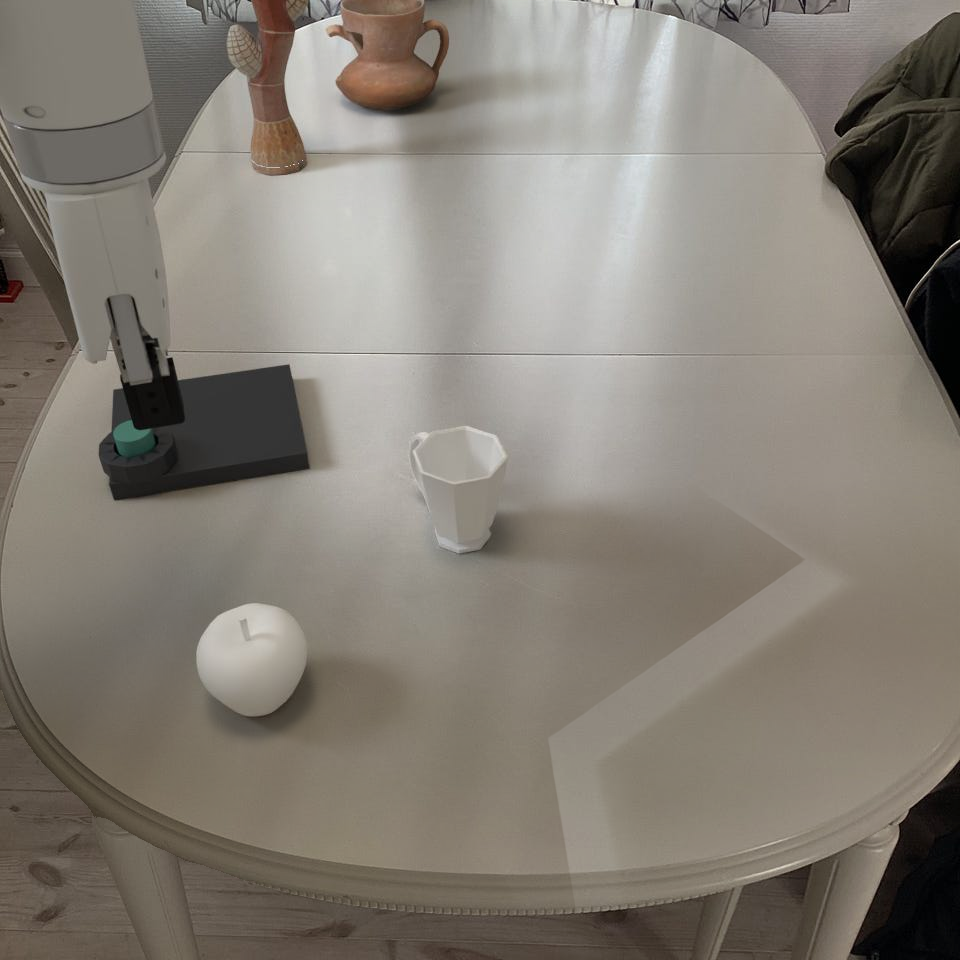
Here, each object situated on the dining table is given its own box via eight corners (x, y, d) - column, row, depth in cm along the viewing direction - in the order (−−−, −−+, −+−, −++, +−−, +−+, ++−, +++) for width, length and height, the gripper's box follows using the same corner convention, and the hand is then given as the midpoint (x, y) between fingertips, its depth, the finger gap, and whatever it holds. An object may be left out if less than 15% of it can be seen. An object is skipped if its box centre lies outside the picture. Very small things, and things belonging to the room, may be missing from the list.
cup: (453, 579, 76) (450, 497, 70) (378, 510, 82) (370, 430, 77) (526, 538, 79) (527, 457, 74) (448, 475, 85) (445, 396, 80)
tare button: (117, 461, 82) (112, 443, 81) (118, 439, 84) (113, 422, 83) (155, 455, 82) (151, 437, 81) (155, 433, 85) (151, 416, 84)
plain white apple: (201, 740, 65) (175, 658, 60) (214, 655, 70) (191, 573, 65) (311, 732, 65) (295, 649, 60) (316, 648, 71) (301, 565, 65)
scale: (108, 504, 83) (97, 471, 80) (112, 405, 93) (103, 373, 91) (310, 471, 86) (305, 438, 83) (291, 379, 96) (286, 347, 94)
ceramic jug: (335, 122, 148) (324, 18, 139) (331, 88, 159) (321, -9, 150) (457, 114, 150) (455, 11, 141) (445, 81, 161) (442, -16, 152)
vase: (244, 176, 133) (201, -81, 114) (252, 154, 139) (213, -94, 120) (324, 174, 134) (295, -82, 114) (329, 152, 139) (302, -95, 120)
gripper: (21, 100, 59) (100, 368, 70) (2, 206, 47) (99, 503, 59) (155, 87, 60) (210, 351, 72) (167, 186, 49) (229, 480, 61)
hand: (160, 419), depth 65 cm, fingers closed
